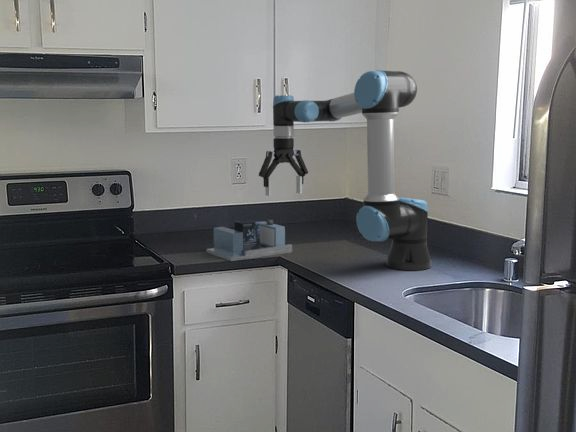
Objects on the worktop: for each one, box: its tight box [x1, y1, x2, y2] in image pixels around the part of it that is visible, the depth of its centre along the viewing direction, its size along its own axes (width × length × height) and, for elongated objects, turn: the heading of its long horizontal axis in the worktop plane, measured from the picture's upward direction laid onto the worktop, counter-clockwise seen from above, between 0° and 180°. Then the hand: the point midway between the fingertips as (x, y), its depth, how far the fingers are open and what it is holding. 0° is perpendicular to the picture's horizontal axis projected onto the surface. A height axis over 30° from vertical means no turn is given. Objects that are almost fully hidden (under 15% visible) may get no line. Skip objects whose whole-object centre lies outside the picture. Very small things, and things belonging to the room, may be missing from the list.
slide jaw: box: [260, 219, 286, 247], centre depth 278 cm, size 14×4×10 cm, turn 35°
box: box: [234, 219, 261, 251], centre depth 272 cm, size 8×6×11 cm
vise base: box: [206, 226, 293, 262], centre depth 273 cm, size 18×26×9 cm
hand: (283, 194), depth 279 cm, fingers open, 13 cm apart
